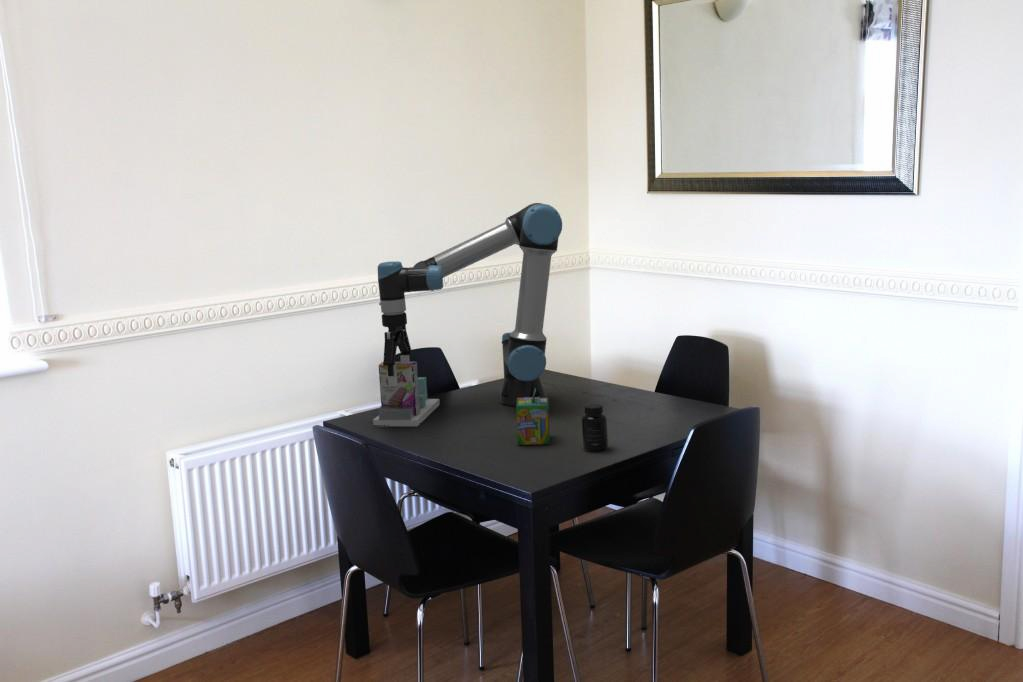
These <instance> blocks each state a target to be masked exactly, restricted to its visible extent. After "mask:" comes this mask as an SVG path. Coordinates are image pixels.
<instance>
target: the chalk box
mask: <svg viewBox="0 0 1023 682" xmlns="http://www.w3.org/2000/svg"><path fill="white" fill-rule="evenodd" d="M535 393H536V388H535V389H534V393H533V397H526V398H517V404H516V406H515V407H516V408H515V409H516V427H517V428H516V430H517V446H530V445H532V446H534V445H537V446H540V445H550V444H551V438H550V437H551V433H550V430H551V429H550V410H549V409H550V408H549V407H550V406H549V401H550V400H549V396H546V397H535Z"/></svg>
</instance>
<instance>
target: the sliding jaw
mask: <svg viewBox="0 0 1023 682" xmlns="http://www.w3.org/2000/svg"><path fill="white" fill-rule="evenodd" d="M418 390H419V405H420V407H424V406H425V405H426V402H425V400H426V399H428V386H427V377H426V376H425V377H424V376H422V377H421V376H419V377H418Z"/></svg>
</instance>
